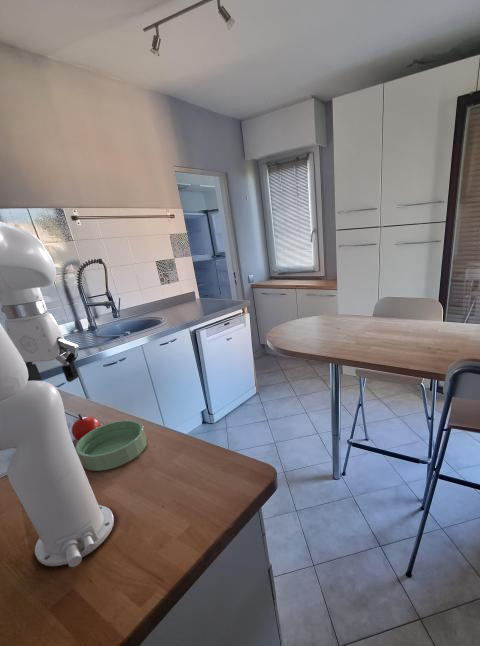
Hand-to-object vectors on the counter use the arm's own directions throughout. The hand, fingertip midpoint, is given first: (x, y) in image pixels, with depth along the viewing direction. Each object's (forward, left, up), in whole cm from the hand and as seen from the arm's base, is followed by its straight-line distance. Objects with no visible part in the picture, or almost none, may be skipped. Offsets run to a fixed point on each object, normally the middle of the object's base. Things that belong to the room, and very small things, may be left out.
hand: (54, 380), depth 80 cm
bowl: (-9, -6, -20) cm, 23 cm away
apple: (+3, -3, -20) cm, 21 cm away
